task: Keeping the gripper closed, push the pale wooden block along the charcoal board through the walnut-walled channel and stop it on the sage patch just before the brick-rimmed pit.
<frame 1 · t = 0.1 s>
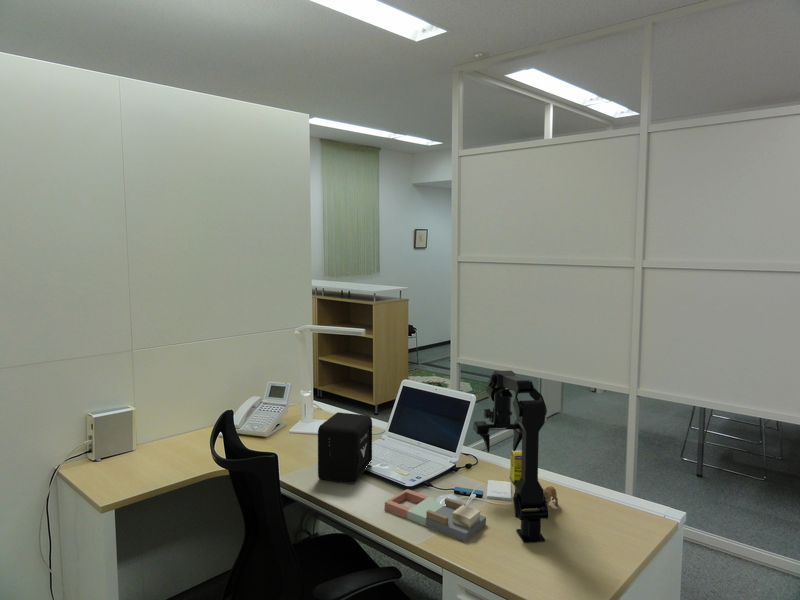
hand: (501, 451, 181), 15 cm above the table, tool pointing down, fingers open, 9 cm apart
supplement box: (519, 481, 192), on the table
block: (466, 521, 158), point 2 cm above the table, touching route board
external hard drive: (499, 493, 184), on the table
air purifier: (346, 473, 197), on the table
route board: (433, 517, 165), on the table
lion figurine: (547, 511, 170), on the table
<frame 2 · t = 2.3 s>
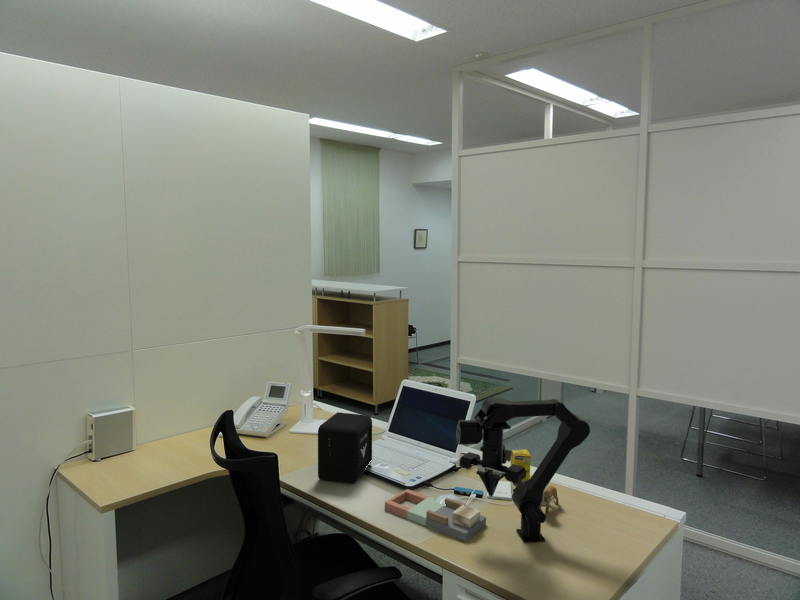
hand: (491, 495, 152), 13 cm above the table, tool pointing down, fingers closed
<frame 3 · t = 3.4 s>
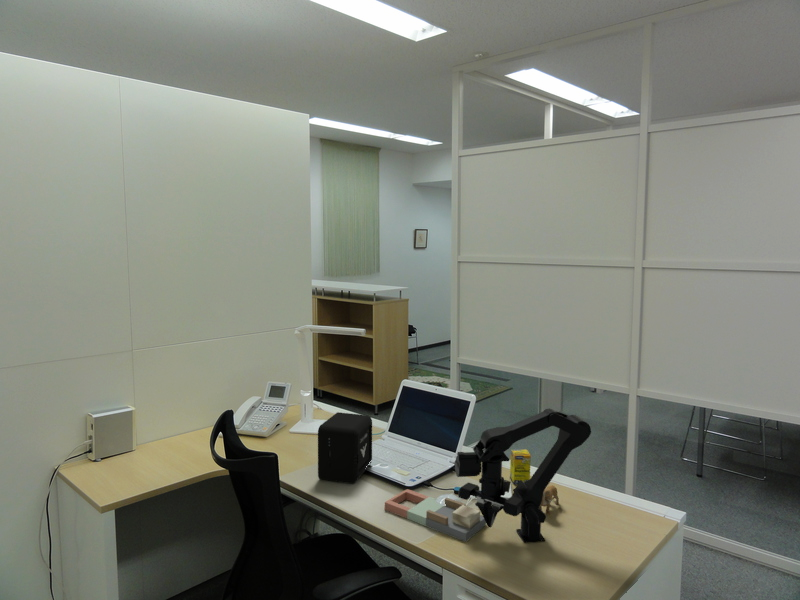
hand: (489, 526, 153), 4 cm above the table, tool pointing down, fingers closed
nothing on the table moved.
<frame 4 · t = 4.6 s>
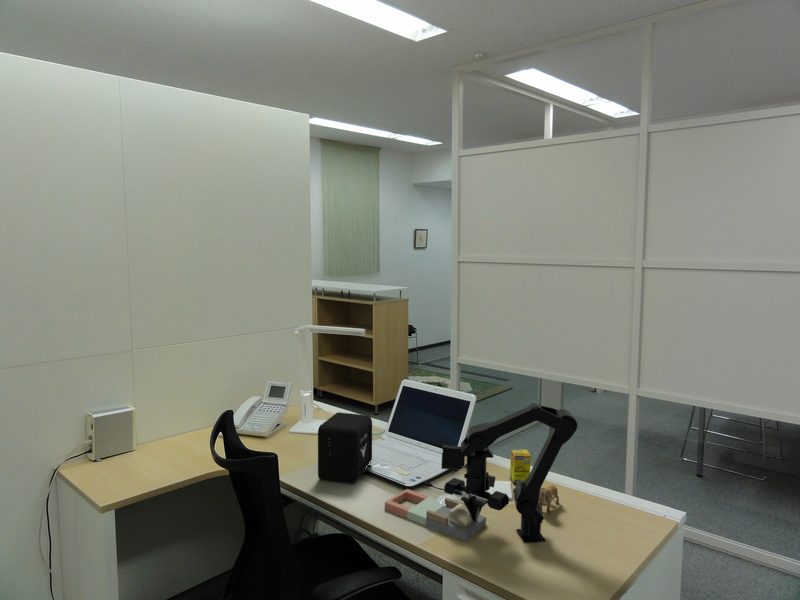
hand: (475, 521, 156), 4 cm above the table, tool pointing down, fingers closed
block: (462, 519, 159), point 3 cm above the table, touching gripper
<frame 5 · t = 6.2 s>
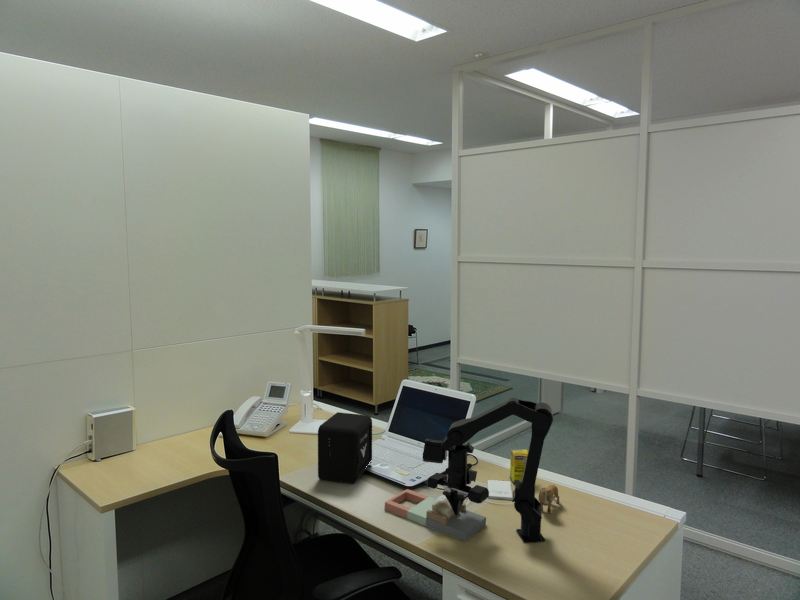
hand: (456, 514, 160), 4 cm above the table, tool pointing down, fingers closed
block: (445, 513, 163), point 2 cm above the table, touching gripper, route board
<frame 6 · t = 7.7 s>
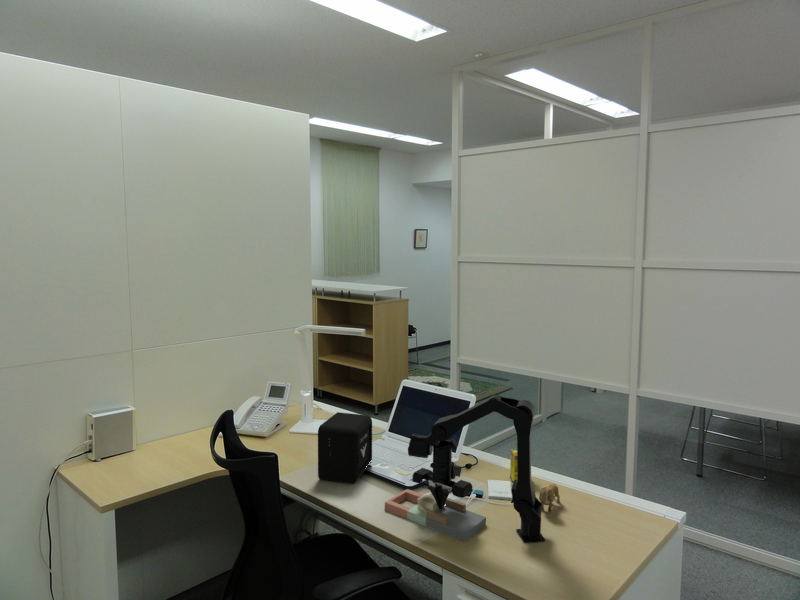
hand: (441, 508, 163), 4 cm above the table, tool pointing down, fingers closed
block: (430, 507, 166), point 2 cm above the table, touching gripper, route board
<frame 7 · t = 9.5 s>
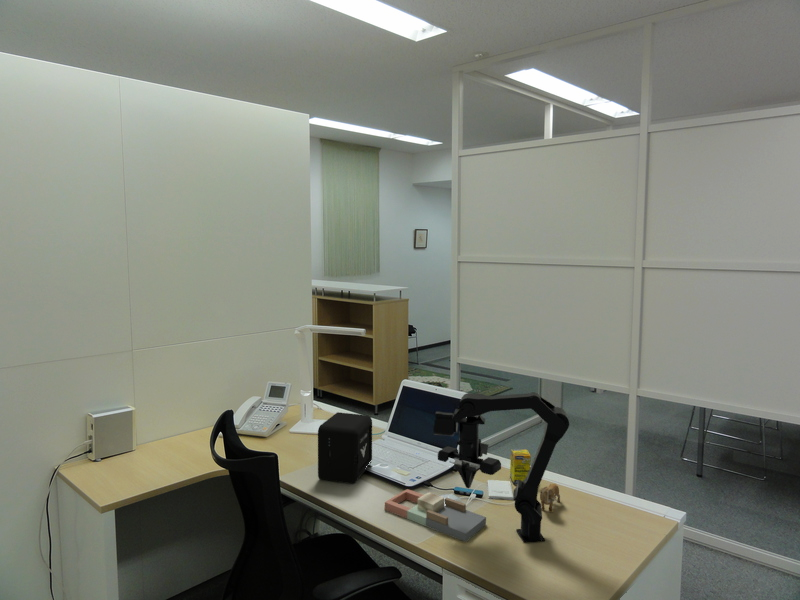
hand: (468, 487, 158), 13 cm above the table, tool pointing down, fingers closed
block: (430, 507, 166), point 2 cm above the table, touching route board
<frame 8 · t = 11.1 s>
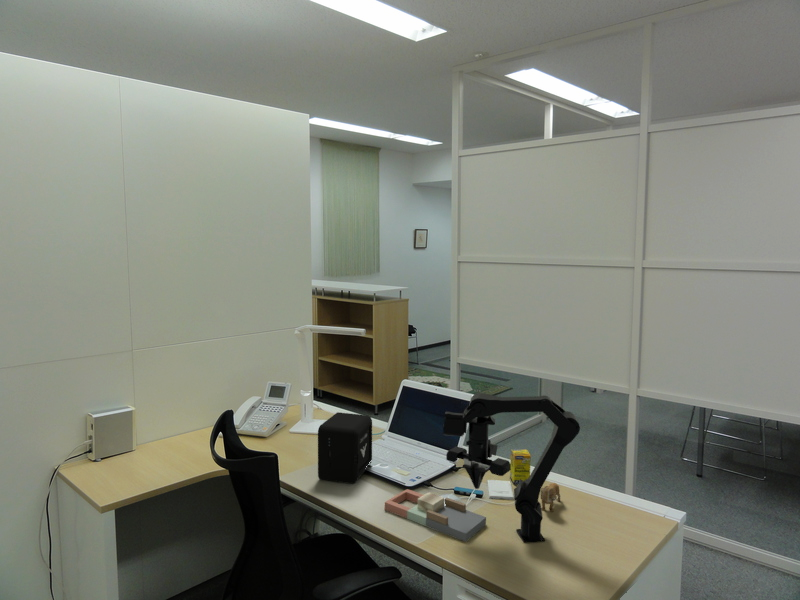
hand: (477, 488, 157), 13 cm above the table, tool pointing down, fingers closed
at the end: block 0.7 cm from the target spot, point 2.5 cm above the table; block touching route board; block tilted 0° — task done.
